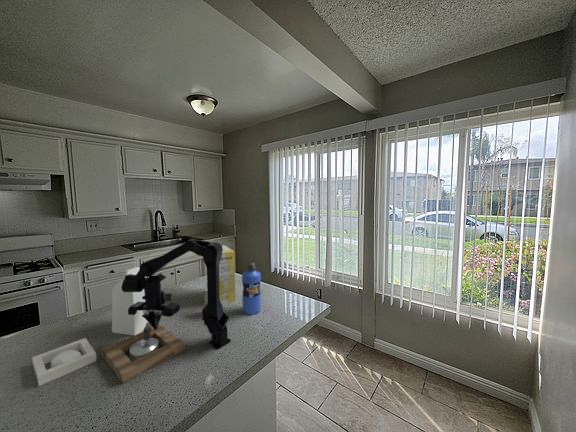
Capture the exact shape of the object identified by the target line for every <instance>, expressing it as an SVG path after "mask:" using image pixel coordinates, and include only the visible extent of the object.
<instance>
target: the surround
mask: <svg viewBox="0 0 576 432" xmlns="http://www.w3.org/2000/svg"><path fill="white" fill-rule="evenodd" d="M149 338H156V339H157V340H158V345H160V346H162V347H159V349H158V350H156V351H154V352H152V353H150V354H147V355H145V356H143V357H141V358H139V359H137V360H135V361H132V360H131V359H130V357H128V355H126V353H128V352H130V347H131V346H132V345H133V344H134V343H136V342H138V341H140V340H142V339H144V331H141V332H140V333H138V334H137V335H134V336H133V335H131V336H130V337H128V338H125V339H122V340H120V341H118V342H115V343H113V344H111V345H108V346H106V347H103V348H102V349H101V350H102V351H101V352H102V358H103V359H104V360H105V362H106V363H107V364H108V366H109V367H110V368H111V370H112V371H113V373H114V374H115V375H116V376H117V378H118V379H119V380H120V382H121V384H123V385H124V384H125V383H127V382H130V381H131V380H133V379H135V378H137V377H138V376H141V375H142V374H144V373H146V372H148V371H150V370H151V369H153V368H155V367H157V366H159V365H162V364H163V363H165V362H166V361H168V360H170V359H172V358H174V357H176V356H177V355H180V354H182V353H183V352H185V351H186V344H185V342H184V341H183V340H182V339H180V338H179V337H177V336H176V335H175V334H174V333H173V332H170V331H169V329H167V328H165V327H164V326H163V325H161V324H159V325H158V328H157V329H156V330H154V328H153V327H152V332H151V334H150V337H149Z"/></svg>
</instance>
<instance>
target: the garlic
mask: <svg viewBox="0 0 576 432" xmlns="http://www.w3.org/2000/svg"><path fill="white" fill-rule="evenodd" d="M80 356H82V352H81V351H80V350H79V351H75V350H69V351H64V352H62V353H60V354H59V355H57V356H56V357H55V358H54V359H53V360H52V361H51V362H50V368H53V367H55V366H58V365H60V364H63V363H65V362H68V361H70V360H72V359H75V358H77V357H80Z"/></svg>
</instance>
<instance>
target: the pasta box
mask: <svg viewBox="0 0 576 432" xmlns="http://www.w3.org/2000/svg"><path fill="white" fill-rule="evenodd" d="M222 248H223V250H222V257H221V260H220V264H219V290H220V302H221V304H222V305H225V304H226V305H227V304H230V303H234V302H235V303H236V264H235V263H236V257H235V256H236V253H235V250H233V249H231V248H230V247H228V246H226V245H222Z"/></svg>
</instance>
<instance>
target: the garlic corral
mask: <svg viewBox="0 0 576 432" xmlns="http://www.w3.org/2000/svg"><path fill="white" fill-rule="evenodd" d="M69 350H75V351H79V352H80V353H81V356H80V357H77V358H75V359H72V360H70V361H68V362H65V363H63V364H60V365H58V366H55V367H53V368H52V367H50V368H49V369H47V368H46V364H48V363H51V361H52V360H53V359H54V358H55V357H56V356H57V355H59V354H60V353H62V352H64V351H69ZM31 360H32V368H33V371H34V374H35V378H36V381H37V386H38V387H40V386H42V385H45V384H48V383H49V382H51V381H52V382H53V381H54V380H56V379H59V378H61V377H63V376H66V375H68V374H70V373H72V372H74V371H76V370H79V369H81V368H84V367H86V366H89V365H91V364H92V363H95V362H97V352H96V350H95V349H94V348H93V346H92V345H91V344H90V342H89V341H88V340H87V338H86V337H84V338H81V339H78V340H76V341H73V342H71V343H68V344H65V345H63V346H60V347H57V348H55V349H51V350H48V351H46V352H44V353H40V354H38V355H34V356H33V357H31Z"/></svg>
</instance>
